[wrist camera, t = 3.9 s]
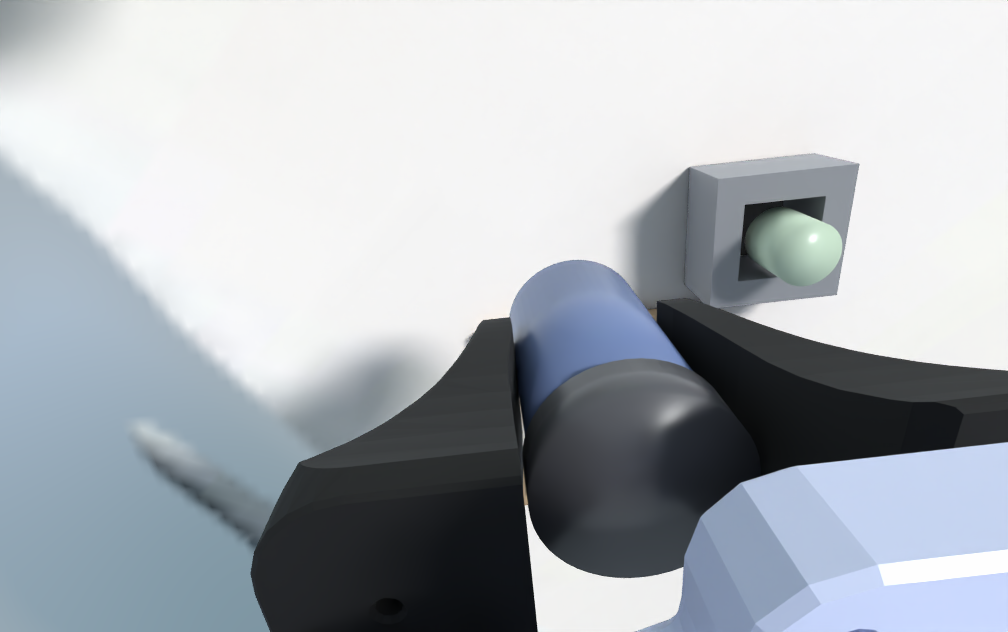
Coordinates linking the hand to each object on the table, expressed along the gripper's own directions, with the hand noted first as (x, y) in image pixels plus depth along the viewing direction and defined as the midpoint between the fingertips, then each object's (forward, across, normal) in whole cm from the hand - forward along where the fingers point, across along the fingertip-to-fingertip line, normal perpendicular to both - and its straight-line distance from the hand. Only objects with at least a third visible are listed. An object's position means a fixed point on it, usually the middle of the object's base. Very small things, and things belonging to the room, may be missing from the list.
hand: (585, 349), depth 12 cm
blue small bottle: (+1, 0, 0) cm, 1 cm away
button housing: (+8, -8, 0) cm, 11 cm away
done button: (+6, -8, 0) cm, 10 cm away
